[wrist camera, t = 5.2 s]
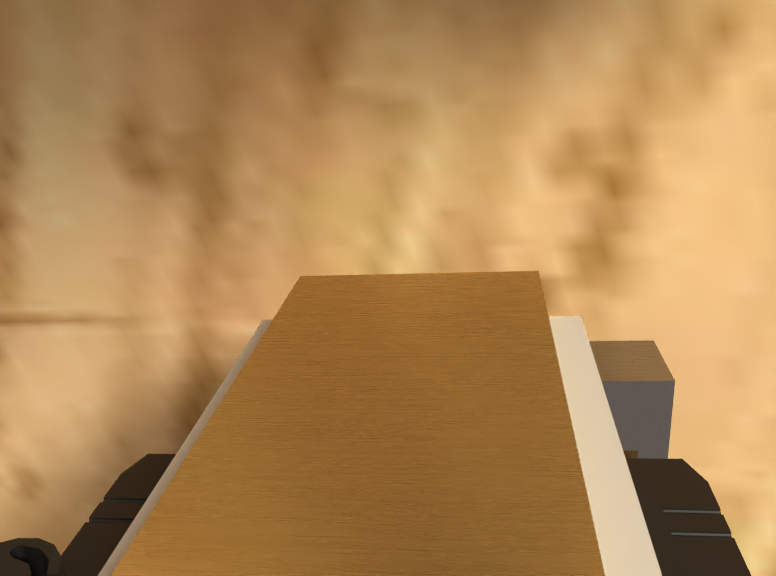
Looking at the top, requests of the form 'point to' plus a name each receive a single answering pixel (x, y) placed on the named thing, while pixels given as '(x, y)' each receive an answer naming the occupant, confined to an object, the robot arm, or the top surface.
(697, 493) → the robot arm
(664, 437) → the gray slotted rack
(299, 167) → the top surface
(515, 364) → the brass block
